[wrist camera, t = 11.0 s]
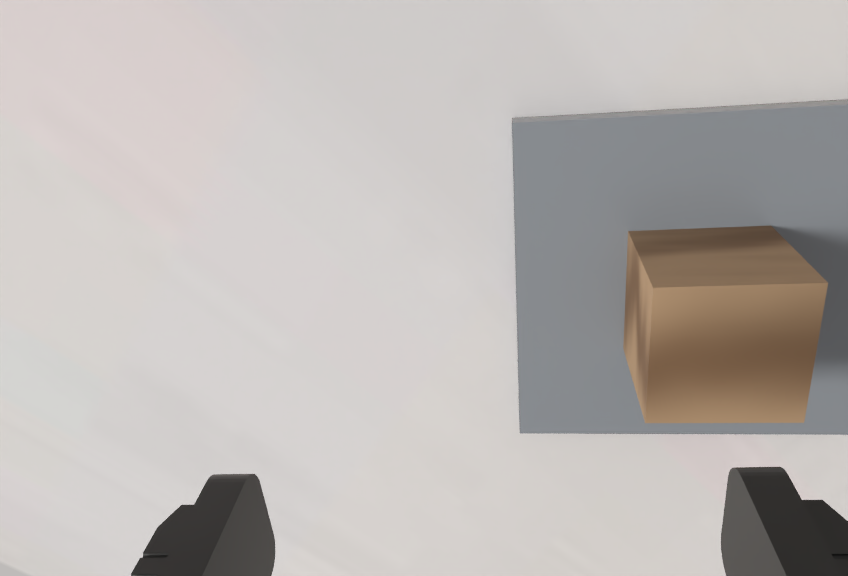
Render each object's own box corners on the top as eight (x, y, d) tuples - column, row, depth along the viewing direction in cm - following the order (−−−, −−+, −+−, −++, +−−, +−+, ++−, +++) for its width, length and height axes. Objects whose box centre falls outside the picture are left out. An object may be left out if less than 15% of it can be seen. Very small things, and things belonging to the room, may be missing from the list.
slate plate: (512, 118, 30) (512, 122, 30) (909, 96, 28) (922, 100, 27) (519, 421, 37) (519, 433, 36) (841, 422, 35) (850, 434, 34)
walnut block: (628, 231, 31) (653, 287, 26) (771, 225, 30) (828, 282, 25) (623, 348, 33) (645, 423, 28) (755, 346, 33) (804, 422, 27)
